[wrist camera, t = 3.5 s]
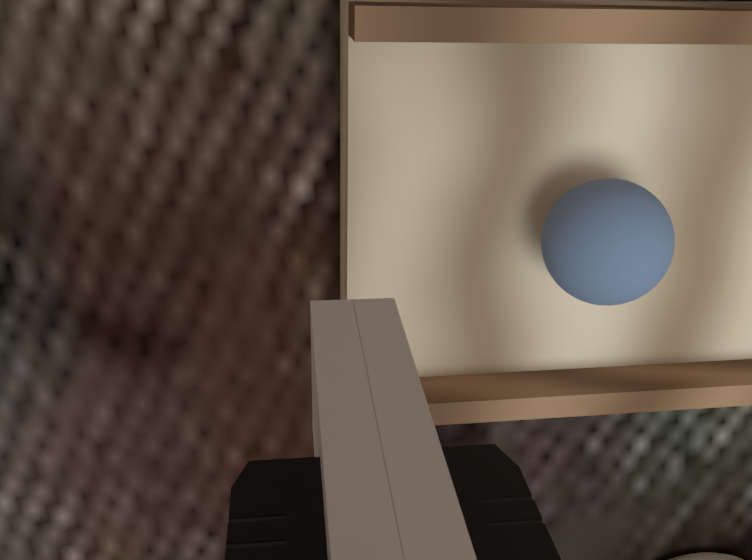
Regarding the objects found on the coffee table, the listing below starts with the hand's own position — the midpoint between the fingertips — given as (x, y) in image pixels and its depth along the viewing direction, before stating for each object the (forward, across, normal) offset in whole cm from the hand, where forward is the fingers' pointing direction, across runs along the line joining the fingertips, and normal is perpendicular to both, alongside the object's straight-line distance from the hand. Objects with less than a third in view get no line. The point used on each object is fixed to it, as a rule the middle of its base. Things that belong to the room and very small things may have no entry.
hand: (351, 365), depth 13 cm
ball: (+6, +8, 0) cm, 10 cm away
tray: (+11, +16, 0) cm, 19 cm away
